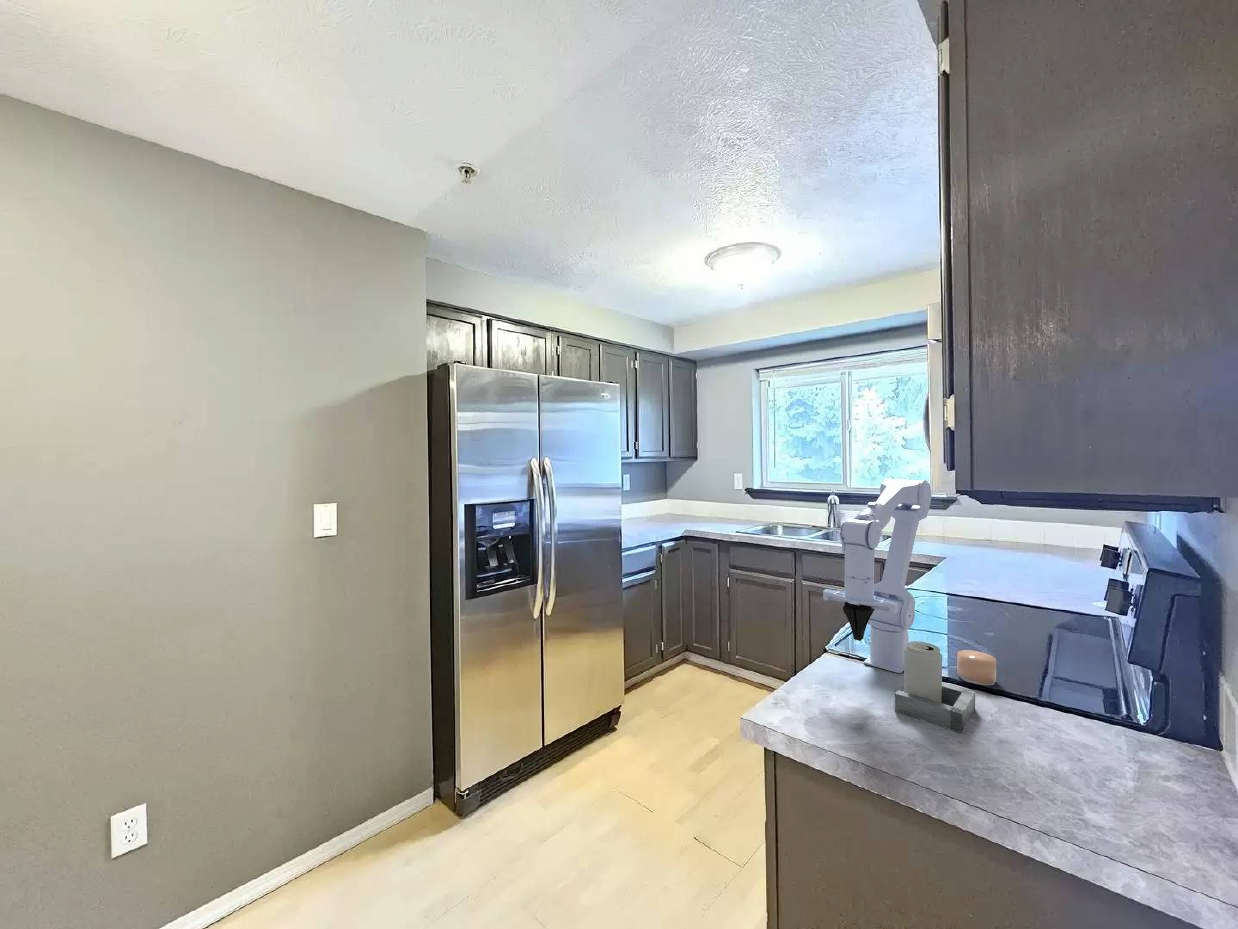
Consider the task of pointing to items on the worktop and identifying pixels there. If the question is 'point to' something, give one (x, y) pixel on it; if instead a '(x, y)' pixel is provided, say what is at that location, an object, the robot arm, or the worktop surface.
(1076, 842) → the worktop surface
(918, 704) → the grey piece
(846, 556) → the robot arm
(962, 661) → the peach cylinder plug
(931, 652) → the beverage can
